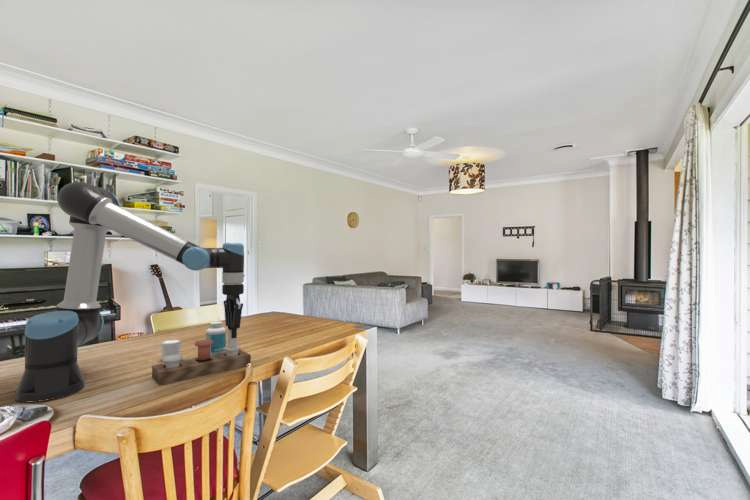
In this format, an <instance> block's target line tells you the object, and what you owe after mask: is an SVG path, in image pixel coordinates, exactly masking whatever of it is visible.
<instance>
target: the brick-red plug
mask: <svg viewBox="0 0 750 500" xmlns="http://www.w3.org/2000/svg"><path fill="white" fill-rule="evenodd" d="M210 345H213V340H206V339H199V340H196V341H195V342H194V347H197V357H198V360H207V359H210Z"/></svg>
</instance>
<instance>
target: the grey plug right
mask: <svg viewBox="0 0 750 500" xmlns="http://www.w3.org/2000/svg"><path fill="white" fill-rule="evenodd" d="M241 347H242V346H241V345H240V344H237V346H234V347H228V345H226V346H225V347H224V351H226V356H227V357H232V356H237V355H238V350H242V349H241Z"/></svg>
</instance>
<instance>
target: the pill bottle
mask: <svg viewBox="0 0 750 500" xmlns="http://www.w3.org/2000/svg"><path fill="white" fill-rule="evenodd" d="M226 334H227V332H226V328H225V327H224V326H223V321H212V322H209V328H207V329H206V331H205V340H213V345H210V355H211V354H217V353H222V352H226V351H224V347H225V346H227V345H226V344H227V343H226V342H227V340H226V339H227V335H226Z"/></svg>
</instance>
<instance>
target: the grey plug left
mask: <svg viewBox="0 0 750 500" xmlns="http://www.w3.org/2000/svg"><path fill="white" fill-rule="evenodd" d="M182 360H184V356H183V354H180V355H170V356H166V357H164V358H162V363H166V369H170V368H175V367H179V362H180V361H182Z"/></svg>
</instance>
